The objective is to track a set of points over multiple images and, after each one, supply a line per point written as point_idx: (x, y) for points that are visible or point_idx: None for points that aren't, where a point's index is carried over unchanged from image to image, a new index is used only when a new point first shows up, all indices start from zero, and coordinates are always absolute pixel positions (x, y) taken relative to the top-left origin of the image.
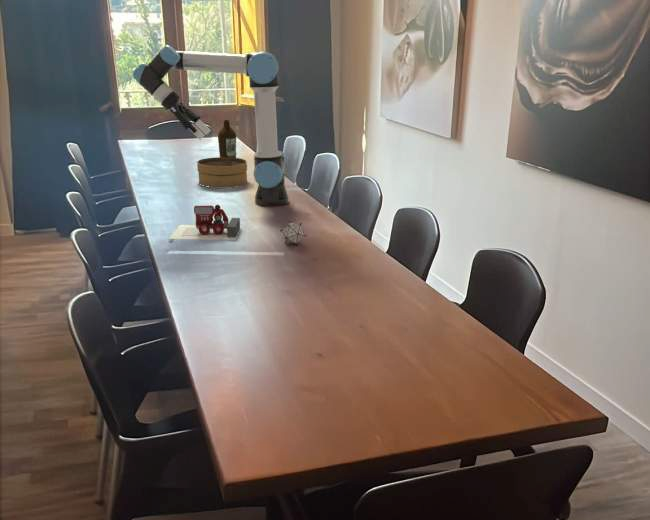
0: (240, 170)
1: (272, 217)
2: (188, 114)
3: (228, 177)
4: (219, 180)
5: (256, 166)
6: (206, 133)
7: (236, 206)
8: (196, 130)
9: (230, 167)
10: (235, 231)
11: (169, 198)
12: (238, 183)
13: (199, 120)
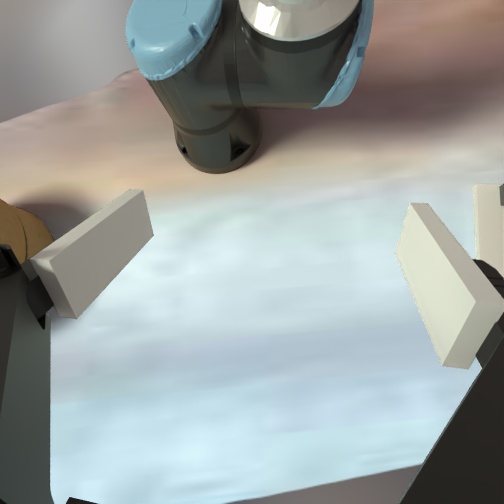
0: (4, 205)
1: (364, 124)
2: (22, 420)
3: (31, 244)
4: None
5: (352, 57)
6: (147, 229)
7: (256, 216)
8: (478, 261)
9: (3, 228)
10: None
11: (152, 416)
12: (40, 224)
13: (61, 259)
